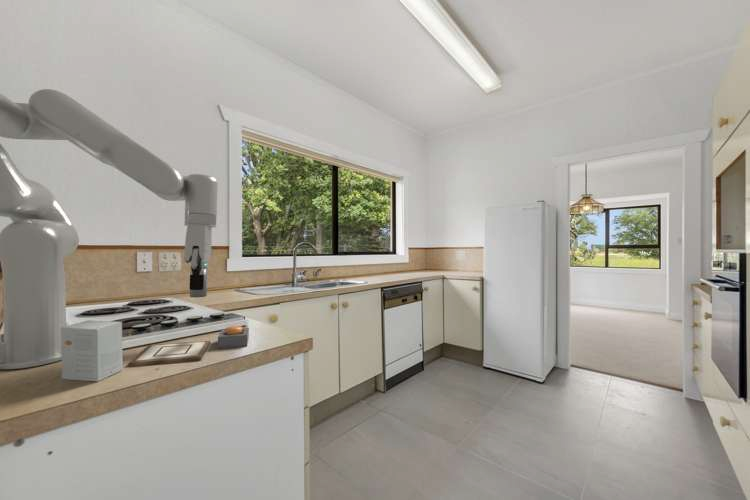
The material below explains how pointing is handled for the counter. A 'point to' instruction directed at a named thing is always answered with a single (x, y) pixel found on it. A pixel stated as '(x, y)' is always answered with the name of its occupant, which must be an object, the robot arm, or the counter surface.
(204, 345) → the wooden picture frame
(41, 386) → the counter surface
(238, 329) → the button
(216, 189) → the robot arm
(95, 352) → the small box
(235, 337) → the button housing
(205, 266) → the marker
